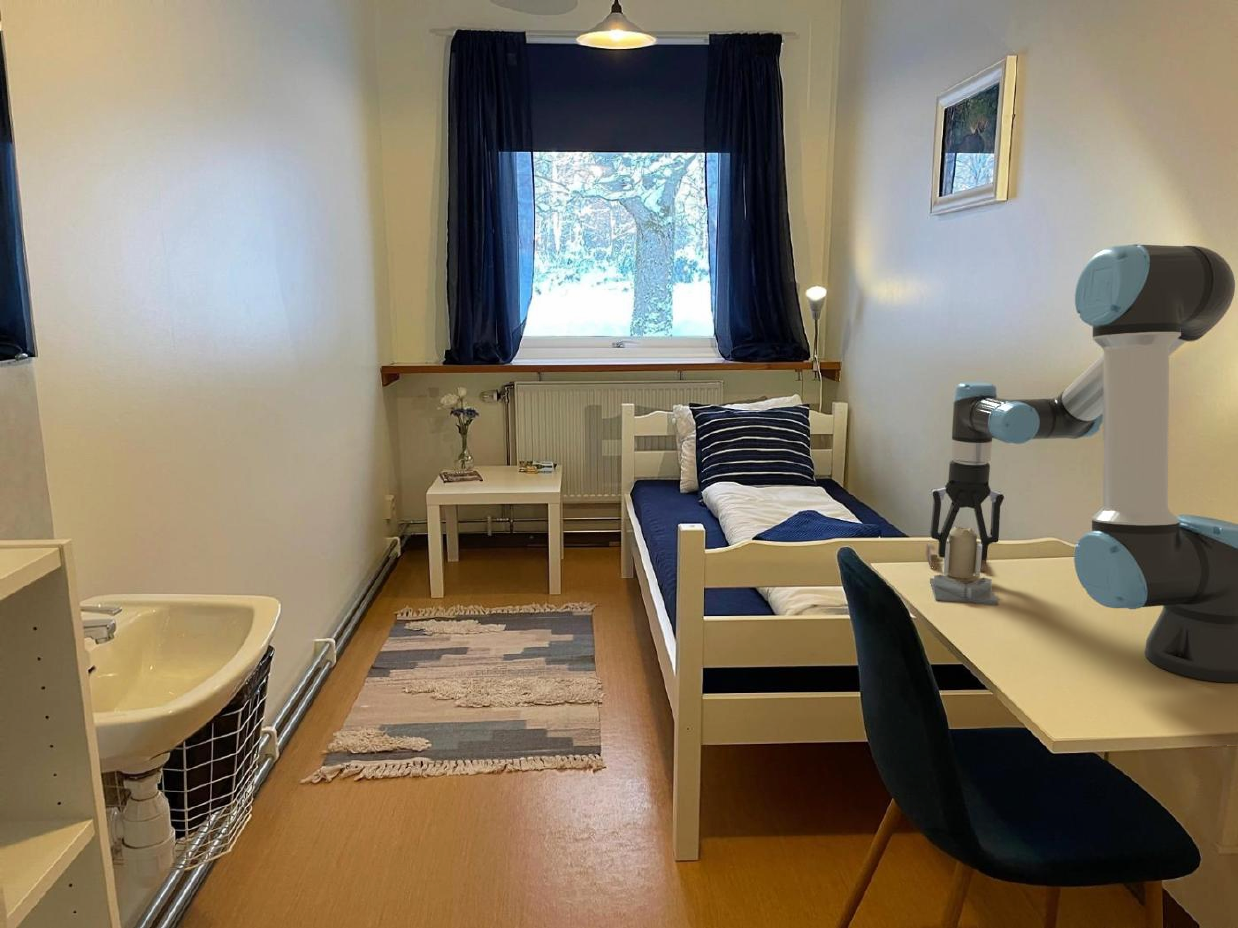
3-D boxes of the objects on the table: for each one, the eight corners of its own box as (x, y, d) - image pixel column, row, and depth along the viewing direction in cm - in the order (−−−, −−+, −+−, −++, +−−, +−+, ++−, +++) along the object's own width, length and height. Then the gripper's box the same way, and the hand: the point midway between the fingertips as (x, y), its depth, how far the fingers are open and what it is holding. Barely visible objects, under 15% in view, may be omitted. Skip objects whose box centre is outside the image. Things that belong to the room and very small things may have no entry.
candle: (969, 570, 195) (973, 524, 193) (976, 579, 189) (981, 531, 187) (942, 569, 195) (945, 523, 193) (948, 578, 190) (952, 530, 188)
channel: (985, 571, 194) (986, 557, 193) (930, 568, 196) (931, 554, 196) (978, 558, 204) (979, 544, 203) (925, 554, 206) (926, 541, 205)
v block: (997, 604, 175) (998, 590, 174) (935, 600, 177) (936, 586, 176) (988, 586, 185) (989, 572, 185) (929, 582, 187) (930, 568, 187)
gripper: (1016, 459, 187) (1005, 571, 192) (919, 455, 191) (911, 565, 196) (1023, 467, 180) (1012, 582, 185) (923, 462, 184) (915, 576, 189)
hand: (960, 573), depth 190 cm, fingers closed on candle, 5 cm apart
